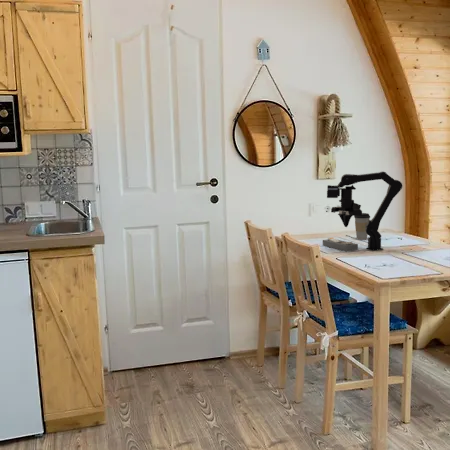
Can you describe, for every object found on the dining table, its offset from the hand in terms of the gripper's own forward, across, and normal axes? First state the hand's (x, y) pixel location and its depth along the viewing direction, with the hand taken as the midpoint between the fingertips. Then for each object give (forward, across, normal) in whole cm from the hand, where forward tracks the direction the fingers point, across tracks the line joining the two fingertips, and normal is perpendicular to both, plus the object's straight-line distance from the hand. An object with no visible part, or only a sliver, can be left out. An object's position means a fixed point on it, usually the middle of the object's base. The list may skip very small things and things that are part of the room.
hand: (346, 226), depth 280 cm
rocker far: (+9, +10, 0) cm, 13 cm away
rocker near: (+9, 0, 0) cm, 9 cm away
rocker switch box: (+12, +5, 0) cm, 13 cm away
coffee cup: (+12, +19, -28) cm, 36 cm away
